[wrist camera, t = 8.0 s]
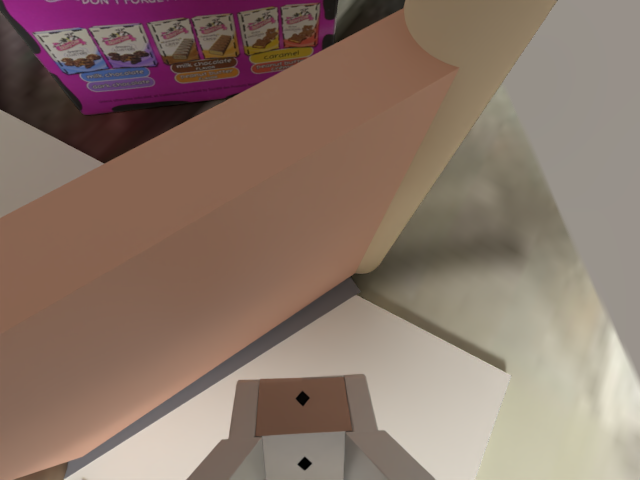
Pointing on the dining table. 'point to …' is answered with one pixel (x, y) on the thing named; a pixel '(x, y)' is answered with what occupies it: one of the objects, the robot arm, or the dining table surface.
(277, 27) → the candy bar box
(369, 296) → the dining table surface
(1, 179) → the card
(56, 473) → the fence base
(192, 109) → the dining table surface
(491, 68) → the swing panel
